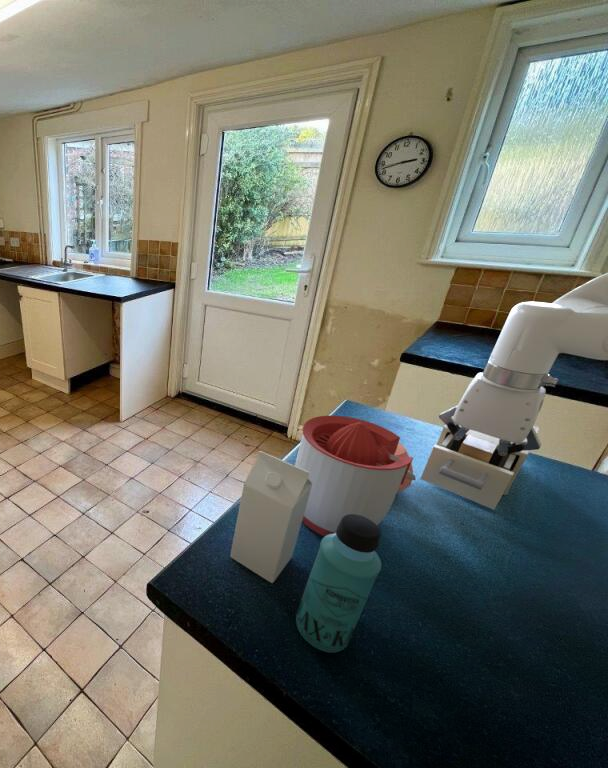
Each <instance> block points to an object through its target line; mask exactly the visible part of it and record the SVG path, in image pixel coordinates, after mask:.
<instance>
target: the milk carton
mask: <svg viewBox="0 0 608 768" xmlns="http://www.w3.org/2000/svg"><path fill="white" fill-rule="evenodd" d="M308 476H309V472H308V471H306V470H304V469H301V468H299V467H297V466H295V464H291V463H289V462H287V461H284V460H283V459H280V458H277V457H275V456H273V455H271V454H268V453H266V452H264V451H261V450H259V451H258V455H257V458H256V460H255V461H254V463H253V466H252V467H251V469H250V471H249V473H248V475H247V477H246V478H245V480H244V482H243V486H242V492H241V497H240V502H239V507H238V513H237V519H236V523H235V529H234V534H233V539H232V544H231V550H230V555H229V557H230V558H231V559H233V560H234V561H235V562H237V563H239V564H241V565H242V566H243V567H245V568H247V569H249V570H250V571H252V572H253V573H255V574H256V575H257V576H260V578H263V579H264V580H266V581H268V582H269V583H271V584H273V583H274V582H275V581H276V580H277V579H278V577H279V576H280V574H281V573H282V571H283V570H284V569H285V567H286V566H287V565H288V563H289V562H290V560H291V559H292V558H293V554H294V551H295V548H296V544H297V541H298V537H299V533H300V529H301V527H302V523H303V522H302V520H303V516H304V512H305V509H306V505H307V502H308V498H309V495H310V491H311V487H312V483H311V482H310V480H309V479H308Z"/></svg>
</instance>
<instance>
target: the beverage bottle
mask: <svg viewBox="0 0 608 768" xmlns="http://www.w3.org/2000/svg"><path fill="white" fill-rule="evenodd" d="M380 538H381V530H380V527H379V526H378V525H376V524H375V523H374V522H373V521H371V520H370V519H368V518H366V517H363V516H360V515H356V514H348V515H345V516H344V517H343V518H342V519H341V521H340V523H339V525H338V527H337V529H336V533H333V534H329V535H326V536H323V538H322V539H321V541H320V543H319V548H318V551H317V554H316V557H315V560H314V562H313V566H312V568H311V571H310V573H308V576H307V577H308V578H307V580H306V582H305V583H304V585H305V587H304V588H303V592H302V593H301V596H300V599H299V602H298V607H297V610H296V614H295V623H296V627H297V630H298V632H299V633H300V635H301V636H302V638H303V639H304V640H305V641H306V642H307V643H308V644H309V645H311V646H312V647H313V648H315V649H317V650H319V651H322V652H325V653H330V654H333V653H334V654H335V653H339V652H341V651H343V650H345V649H347V648H348V646H349V643H350V642H351V641H352V639H353V636H354V634H355V631H357V630H356V629H357V628H358V626H359V624H358V622H359V620H360V617H361V616H362V615H363V613H364V611H365V607H366V604H367V602H368V600H369V597H370V594H371V591H372V588H373V586H374V583H375V581H376V580H377V577H378V575H379V573H380V572H381V569H382V561H381V558H380V557H379V555H378V553H377V552H376V551H377V549H378V548H379V544H380Z"/></svg>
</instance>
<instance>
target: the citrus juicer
mask: <svg viewBox="0 0 608 768" xmlns="http://www.w3.org/2000/svg"><path fill="white" fill-rule="evenodd" d="M301 431H302V437H301V438H300V439H301V440H300V443H299V446H298V447H299V448H298V452H297V456H296V460H295V462H294V463H295V464H294V466H297V467H299V468H301V469H304V470H306V471H308V472H309V476H308V479H309V480H310V482H311V483H312V487H311V491H310V495H309V498H308V502H307V505H306V509H305V512H304V516H303V520H302V523H303V524H304V525H305V526H306V527H308V528H309V529H310V530H312V531H313V532H314V533H317V534H319V535H321V537H325V536H326V535H329V534H333V533H336V529H337V527H338V525H339V523H340V521H341V519H342V518H343V517H344V516H345V515H348V514H356V515H360V516H363V517H366V518H368V519H370V520H371V521H373V522H374V523H375V524H376V525H377V526H378V525H379V524H380V523H381V522H382V521H383V520H384V519H385V517H386V516H387V514H388V512H389V510H390V509H391V507H392V505H393V503H394V501H395V499H396V496H397V493H398V492H397V491H398V488H399V486H400V484H402V485H403V482H404V480H405V478H407V479H411V480H412V481H414V482H416V475H415V474H414V473H413V474H412V473H411V472H410V470H409V467H410V465H411V463H412V462H413V459H414V457H413V456H409V457H397V456H395V455H394V454H395V452H396V449H397V446H398V443H400V439H401V436H399V435H397V434H396V433H394V432H393V431H391V430H390V429H387V428H386V427H383V426H380V425H379V424H376V423H373V422H371V421H367V420H364V419H359V418H355V417H351V416H345V415H319V416H315V417H312V418H310V419H308V420H306V422H305V423H304V424H303V426H302V428H301Z"/></svg>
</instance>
